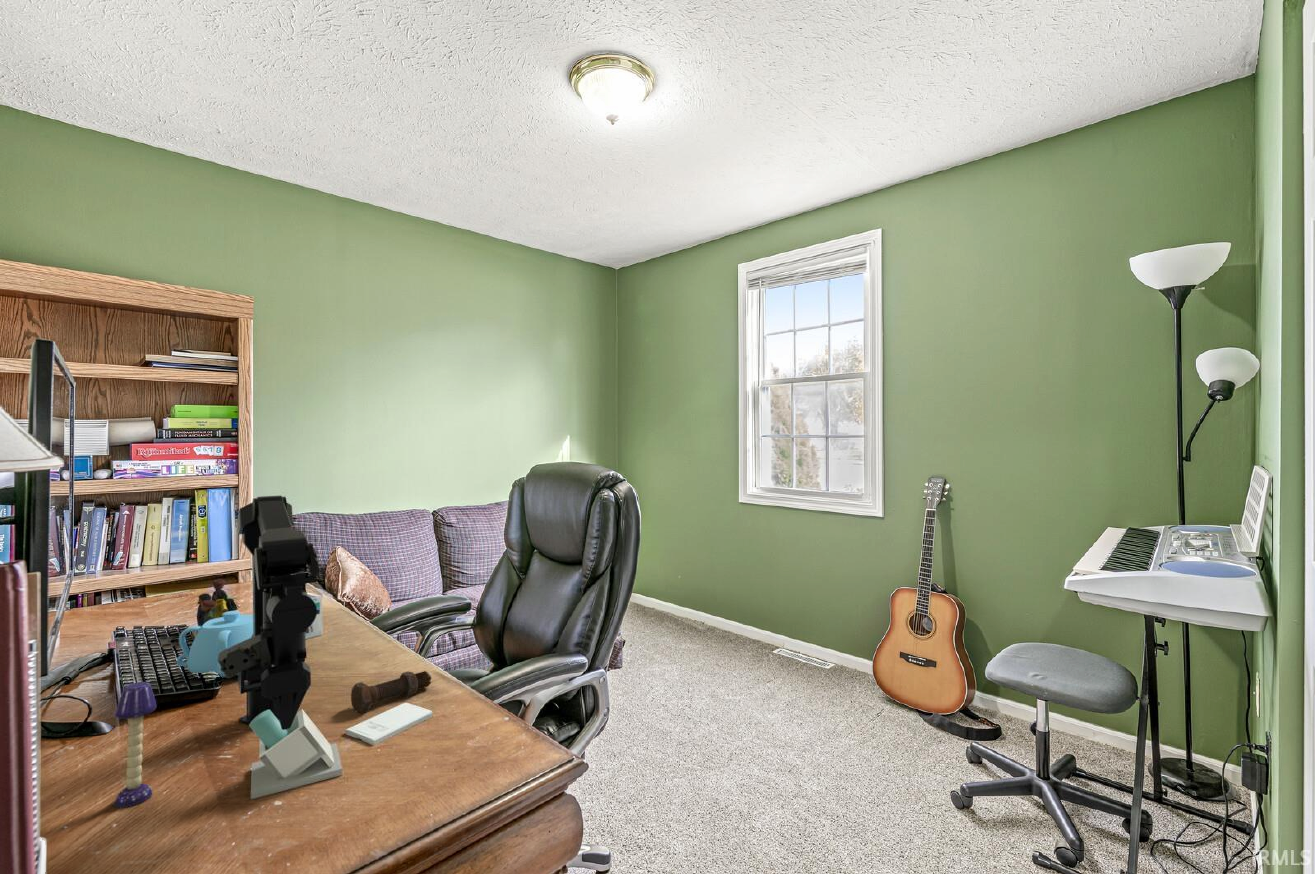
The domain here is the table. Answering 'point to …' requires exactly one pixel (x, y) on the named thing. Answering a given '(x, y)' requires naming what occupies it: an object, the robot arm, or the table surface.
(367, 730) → the external hard drive
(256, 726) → the dowel
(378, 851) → the table surface
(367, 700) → the bolt
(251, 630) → the light blue teapot
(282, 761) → the socket
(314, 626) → the light bulb box
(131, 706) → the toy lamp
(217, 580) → the doll family
